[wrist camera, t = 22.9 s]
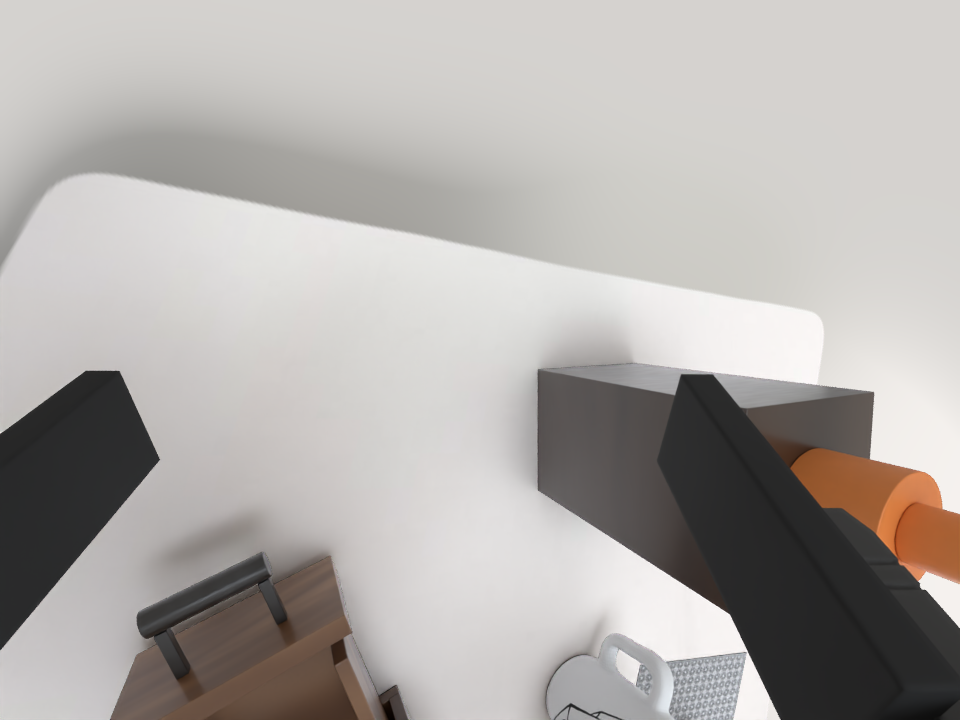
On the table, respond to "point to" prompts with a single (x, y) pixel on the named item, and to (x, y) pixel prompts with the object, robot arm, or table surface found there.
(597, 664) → the mug
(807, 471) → the orange tower post
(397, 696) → the cabinet
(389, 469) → the table surface
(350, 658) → the drawer
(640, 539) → the stand
